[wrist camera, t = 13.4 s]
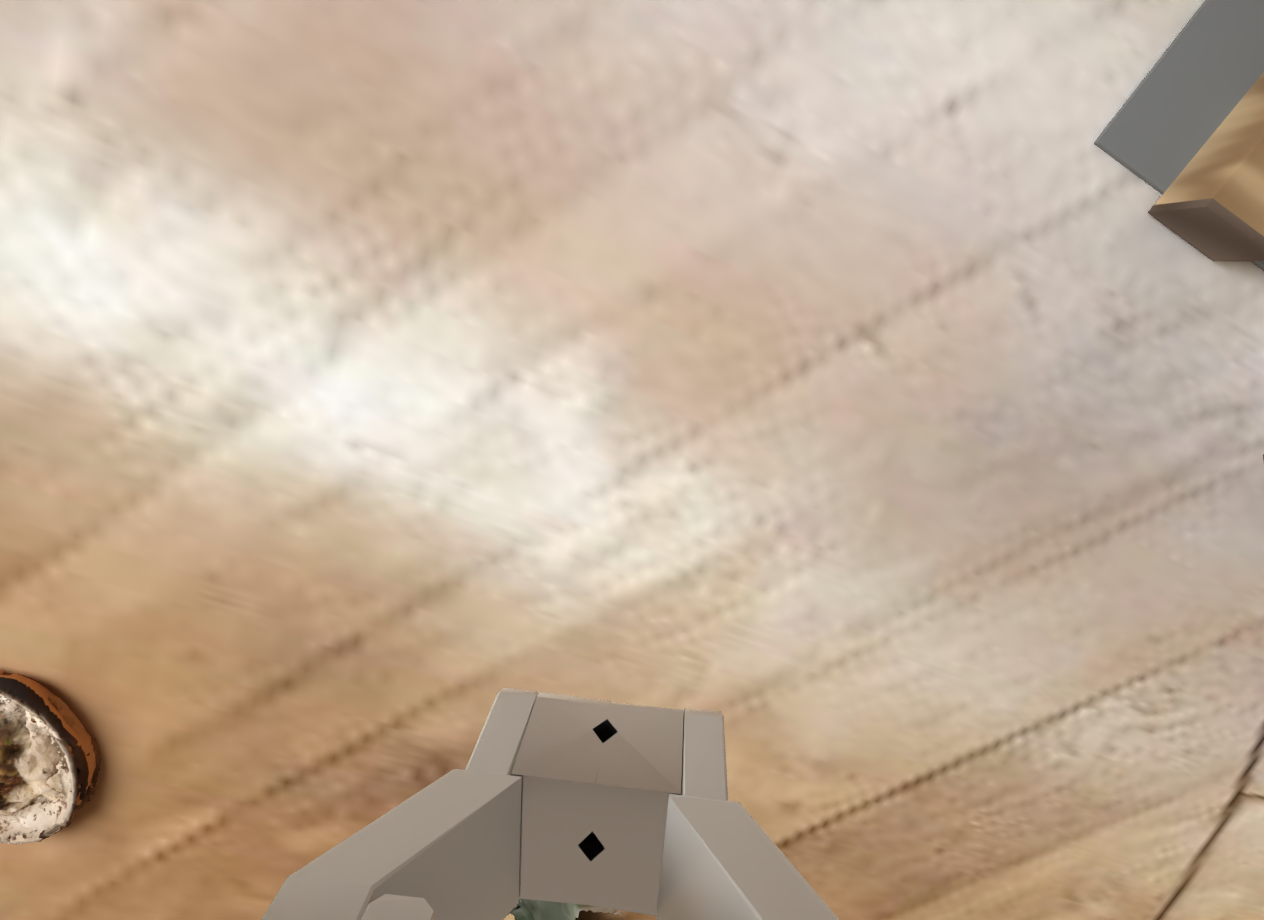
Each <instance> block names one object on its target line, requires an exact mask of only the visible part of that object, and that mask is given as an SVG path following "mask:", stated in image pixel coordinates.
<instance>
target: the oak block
mask: <svg viewBox="0 0 1264 920" xmlns="http://www.w3.org/2000/svg"><path fill="white" fill-rule="evenodd" d="M1148 213H1149V214H1150V215H1152V216H1153V217H1154V218H1156V219H1157V220H1159V221H1160V222H1161V223H1163V224H1164V225H1165V226H1167V227H1168V228H1169V229H1171V230H1172V231H1173V232H1175V233H1176V234H1177V235H1179V236H1180V237H1181V238H1183V239H1184V240H1185V241H1187V242H1188V243H1190V244H1191V245H1192V246H1194V247H1195V248H1196V249H1198V250H1199V251H1200V252H1202V253H1203V254H1204V255H1206V256H1207V257H1208V258H1210V259H1211V260H1212V261H1264V72H1263V74H1262V75H1261V76H1260V77H1259V78H1258V80H1257V81H1256V82H1255V83H1254V84H1253V86H1252V87H1251V88H1250V89H1249V91H1248V92H1247V93H1246V94H1245V95H1244V97H1243V98H1242V99H1241V100H1240V101H1239V103H1238V104H1237V105H1236V106H1235V107H1234V109H1233V110H1232V111H1231V112H1230V114H1229V115H1228V116H1227V117H1226V118H1225V120H1224V121H1223V122H1222V123H1221V124H1220V126H1219V127H1218V128H1217V129H1216V131H1215V132H1214V133H1213V134H1212V135H1211V137H1210V138H1209V139H1208V140H1207V141H1206V143H1205V144H1204V145H1203V146H1202V147H1201V149H1200V150H1199V151H1198V152H1197V154H1196V155H1195V156H1194V157H1193V158H1192V160H1191V161H1190V162H1189V163H1188V164H1187V166H1186V167H1185V168H1184V169H1183V171H1182V172H1181V173H1180V174H1179V175H1178V177H1177V178H1176V179H1175V180H1174V181H1173V183H1172V184H1171V185H1170V186H1169V188H1168V189H1167V190H1166V191H1165V192H1164V194H1163V195H1162V196H1161V197H1160V198H1159V200H1158V201H1157V202H1156V203H1155V204H1154V206H1153V207H1152V208H1151V209H1150V211H1149V212H1148Z"/></svg>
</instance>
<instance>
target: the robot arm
mask: <svg viewBox="0 0 1264 920" xmlns="http://www.w3.org/2000/svg"><path fill="white" fill-rule="evenodd" d="M519 898H520V899H531V900H541V901H552V902H562V903H572V904H583V905H591V906H597V907H603V908H610V909H616V910H622V911H629V912H635V913H641V914H648V915H654V916H656V920H839V919H838V917H837V916H836V915H835V914H834V913H833V912H832V910H831V909H830V908H829V907H828V906H827V904H826V903H825V902H824V901H823V900H822V899H821V897H820V896H819V895H818V894H817V893H816V892H815V890H814V889H813V888H812V887H811V886H810V885H809V883H808V882H807V881H806V880H805V879H804V877H803V876H802V875H801V874H800V873H799V872H798V870H797V869H796V868H795V867H794V866H793V865H792V863H791V862H790V861H789V860H788V859H787V858H786V856H785V855H784V854H783V853H782V852H781V850H780V849H779V848H778V847H777V846H776V845H775V843H774V842H773V841H772V840H771V839H770V838H769V836H768V835H767V834H766V833H765V832H764V831H763V829H762V828H761V827H760V826H759V825H758V823H757V822H756V821H755V820H754V819H753V818H752V816H751V815H750V814H749V813H748V812H747V811H746V809H745V808H744V807H743V806H742V805H741V804H740V803H739V802H732V801H728V788H727V770H726V752H725V734H724V716H723V715H722V713H721V711H709V710H696V709H684V710H680V709H671V708H662V707H652V706H643V705H633V704H624V703H614V702H611V701H604V700H596V699H589V698H581V697H574V696H566V695H559V694H551V693H544V692H540V693H538V692H535V691H526V690H518V689H509V688H503V689H502V690H501V691H500V692H499V693H498V694H497V696H496V698H495V701H494V703H493V705H492V708H491V710H490V712H489V715H488V717H487V720H486V722H485V724H484V727H483V729H482V731H481V734H480V736H479V738H478V741H477V743H476V746H475V748H474V750H473V753H472V755H471V757H470V760H469V762H468V764H467V767H466V769H465V770H460V769H453V770H452V771H450V772H449V773H447V774H446V775H444V776H442V777H441V778H439V779H438V780H436V781H435V782H433V783H432V784H430V785H429V786H427V787H426V788H424V789H422V790H421V791H419V792H418V793H416V794H415V795H413V796H412V797H410V798H409V799H407V800H406V801H404V802H402V803H401V804H399V805H398V806H396V807H395V808H393V809H392V810H390V811H389V812H387V813H385V814H384V815H382V816H381V817H379V818H378V819H376V820H375V821H373V822H372V823H370V824H369V825H367V826H365V827H364V828H362V829H361V830H359V831H358V832H356V833H355V834H353V835H352V836H350V837H349V838H347V839H345V840H344V841H342V842H341V843H339V844H338V845H336V846H335V847H333V848H332V849H330V850H329V851H327V852H325V853H324V854H322V855H321V856H319V857H318V858H316V859H315V860H313V861H312V862H310V863H309V864H307V865H305V866H304V867H302V868H301V869H299V870H298V871H296V872H295V873H293V874H292V875H290V876H288V877H287V879H286V881H285V882H284V884H283V885H282V887H281V889H280V890H279V892H278V893H277V895H276V896H275V898H274V900H273V901H272V903H271V904H270V906H269V908H268V909H267V911H266V912H265V914H264V916H263V917H262V919H261V920H503V919H504V918H505V917H506V916H507V915H508V914H509V913H510V912H511V910H512V909H513V908H514V907H515V906H516V905H517V904H518V903H519Z"/></svg>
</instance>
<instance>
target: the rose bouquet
mask: <svg viewBox="0 0 1264 920" xmlns="http://www.w3.org/2000/svg"><path fill="white" fill-rule="evenodd" d="M582 910H585V911H586V912H588V910H591V911H593V913H595V912H602V913H608V912H610V914H615V915H617V914H619V915H621V916H622V914H623V913H621V912H618V911H616V910H614V909H610V908H603V907H597V906H591V905H583V904H572V903H562V902H552V901H541V900H531V899H520V898H519V903H518V904H517V905H516V906H515V907H514V908H513V909H512V910H511V912H510V913H511V914H513V915H514V917H515V920H575V917H576V918H578V915H579V911H582Z"/></svg>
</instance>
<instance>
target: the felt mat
mask: <svg viewBox="0 0 1264 920" xmlns="http://www.w3.org/2000/svg"><path fill="white" fill-rule="evenodd" d="M1263 72H1264V0H1205V2H1204V3H1203V4H1202V6H1201V7H1200V8H1199V9H1198V11H1197V12H1196V13H1195V14H1194V16H1193V17H1192V18H1191V20H1190V21H1189V22H1188V23H1187V25H1186V26H1185V27H1184V29H1183V30H1182V31H1181V32H1180V34H1179V35H1178V36H1177V38H1176V39H1175V40H1174V41H1173V43H1172V44H1171V45H1170V46H1169V48H1168V49H1167V50H1166V52H1165V53H1164V54H1163V55H1162V57H1161V58H1160V59H1159V61H1158V62H1157V63H1156V64H1155V66H1154V67H1153V68H1152V69H1151V71H1150V72H1149V73H1148V75H1147V76H1146V77H1145V78H1144V80H1143V81H1142V82H1141V84H1140V85H1139V86H1138V87H1137V89H1136V90H1135V91H1134V92H1133V94H1132V95H1131V96H1130V98H1129V99H1128V100H1127V101H1126V103H1125V104H1124V105H1123V107H1122V108H1121V109H1120V110H1119V112H1118V113H1117V114H1116V116H1115V117H1114V118H1113V119H1112V121H1111V122H1110V123H1109V124H1108V126H1107V127H1106V128H1105V130H1104V131H1103V132H1102V133H1101V135H1100V136H1099V137H1098V139H1097V140H1096V141H1095V142H1094V144H1096V145H1097V146H1098V147H1100V148H1101V149H1102V150H1104V151H1105V152H1106V153H1108V154H1109V155H1110V156H1112V157H1113V158H1114V159H1116V160H1117V161H1118V162H1120V163H1121V164H1122V165H1124V166H1125V167H1126V168H1128V169H1129V170H1130V171H1132V172H1133V173H1134V174H1136V175H1137V176H1138V177H1140V178H1141V179H1142V180H1144V181H1145V182H1146V183H1148V184H1149V185H1150V186H1152V187H1153V188H1154V189H1156V190H1157V191H1158V192H1160V193H1161V194H1162V195H1163V194H1164V192H1165V191H1166V190H1167V189H1168V188H1169V186H1170V185H1171V184H1172V183H1173V181H1174V180H1175V179H1176V178H1177V177H1178V175H1179V174H1180V173H1181V172H1182V171H1183V169H1184V168H1185V167H1186V166H1187V164H1188V163H1189V162H1190V161H1191V160H1192V158H1193V157H1194V156H1195V155H1196V154H1197V152H1198V151H1199V150H1200V149H1201V147H1202V146H1203V145H1204V144H1205V143H1206V141H1207V140H1208V139H1209V138H1210V137H1211V135H1212V134H1213V133H1214V132H1215V131H1216V129H1217V128H1218V127H1219V126H1220V124H1221V123H1222V122H1223V121H1224V120H1225V118H1226V117H1227V116H1228V115H1229V114H1230V112H1231V111H1232V110H1233V109H1234V107H1235V106H1236V105H1237V104H1238V103H1239V101H1240V100H1241V99H1242V98H1243V97H1244V95H1245V94H1246V93H1247V92H1248V91H1249V89H1250V88H1251V87H1252V86H1253V84H1254V83H1255V82H1256V81H1257V80H1258V78H1259V77H1260V76H1261V75H1262V74H1263ZM1252 262H1254V263H1255V264H1256V265H1258V266H1259V267H1260V268H1262V269H1263V270H1264V261H1252Z"/></svg>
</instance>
